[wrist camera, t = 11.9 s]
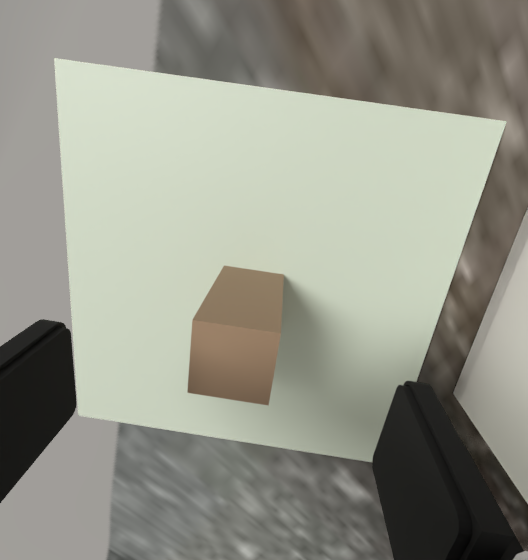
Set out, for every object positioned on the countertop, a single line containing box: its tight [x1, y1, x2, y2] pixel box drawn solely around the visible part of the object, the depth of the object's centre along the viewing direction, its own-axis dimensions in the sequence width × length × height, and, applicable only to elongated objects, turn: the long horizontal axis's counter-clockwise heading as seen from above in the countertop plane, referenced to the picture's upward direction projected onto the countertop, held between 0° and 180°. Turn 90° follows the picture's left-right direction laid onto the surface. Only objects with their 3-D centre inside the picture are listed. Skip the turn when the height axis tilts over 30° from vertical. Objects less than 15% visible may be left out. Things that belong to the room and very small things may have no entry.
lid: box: [54, 58, 507, 462], centre depth 16 cm, size 19×19×7 cm
